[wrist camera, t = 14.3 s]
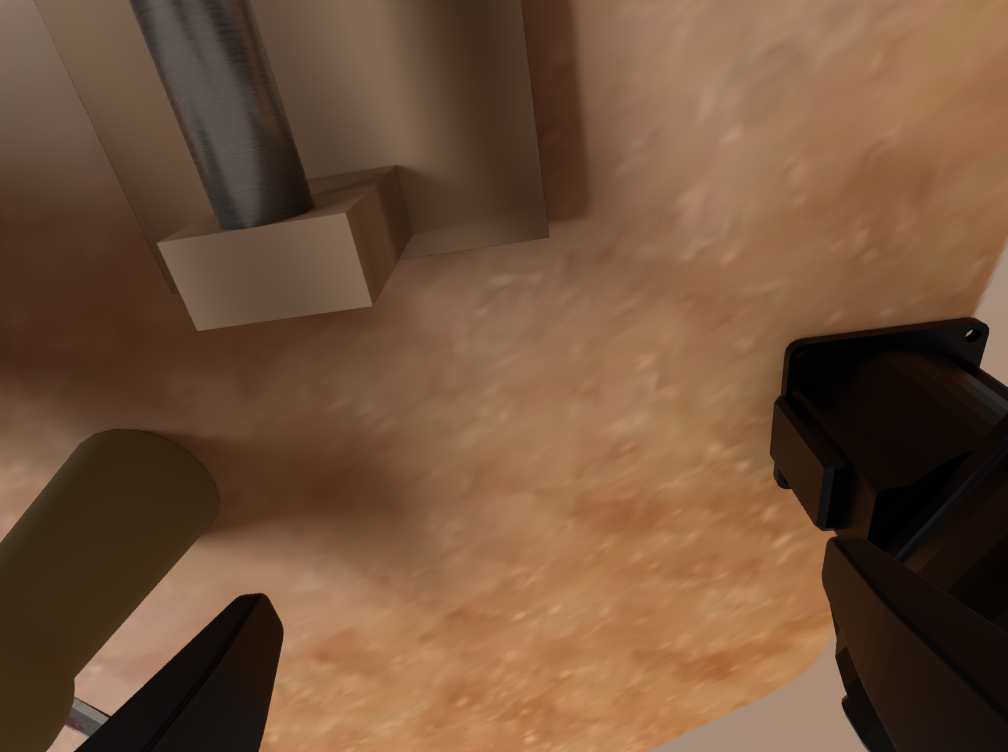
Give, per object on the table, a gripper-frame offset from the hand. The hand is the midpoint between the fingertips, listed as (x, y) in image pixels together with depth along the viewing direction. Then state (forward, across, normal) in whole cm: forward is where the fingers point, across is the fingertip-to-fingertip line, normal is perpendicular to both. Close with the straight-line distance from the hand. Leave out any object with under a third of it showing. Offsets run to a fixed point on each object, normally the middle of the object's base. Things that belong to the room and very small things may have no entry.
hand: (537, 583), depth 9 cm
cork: (+12, +17, +6) cm, 22 cm away
